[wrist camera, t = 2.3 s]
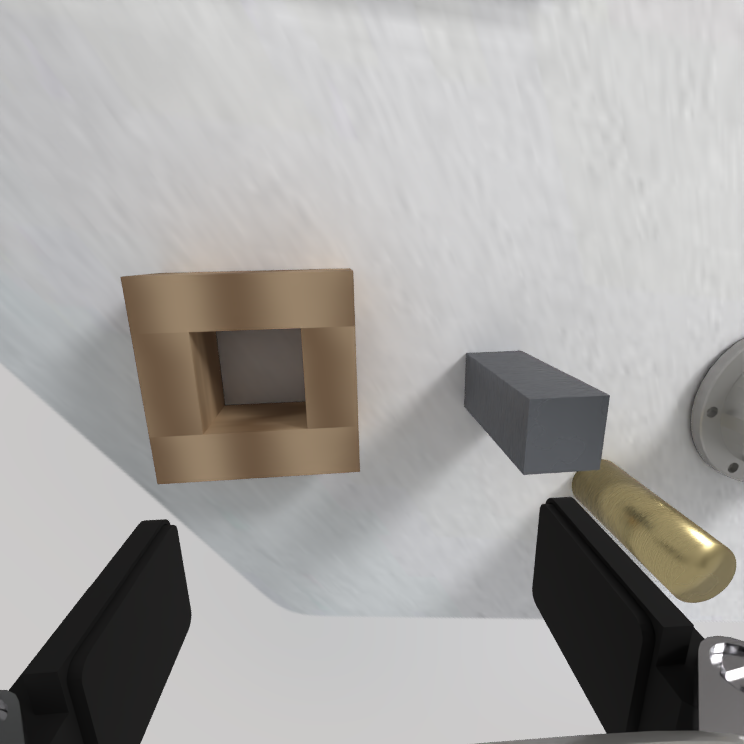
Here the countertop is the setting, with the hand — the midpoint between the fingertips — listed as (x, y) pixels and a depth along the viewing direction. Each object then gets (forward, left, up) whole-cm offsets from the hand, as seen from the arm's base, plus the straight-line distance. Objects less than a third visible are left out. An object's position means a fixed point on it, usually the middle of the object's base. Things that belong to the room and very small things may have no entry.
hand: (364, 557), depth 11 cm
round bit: (-20, +10, -19) cm, 29 cm away
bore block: (+5, -1, -19) cm, 20 cm away
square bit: (-11, +1, -19) cm, 22 cm away
